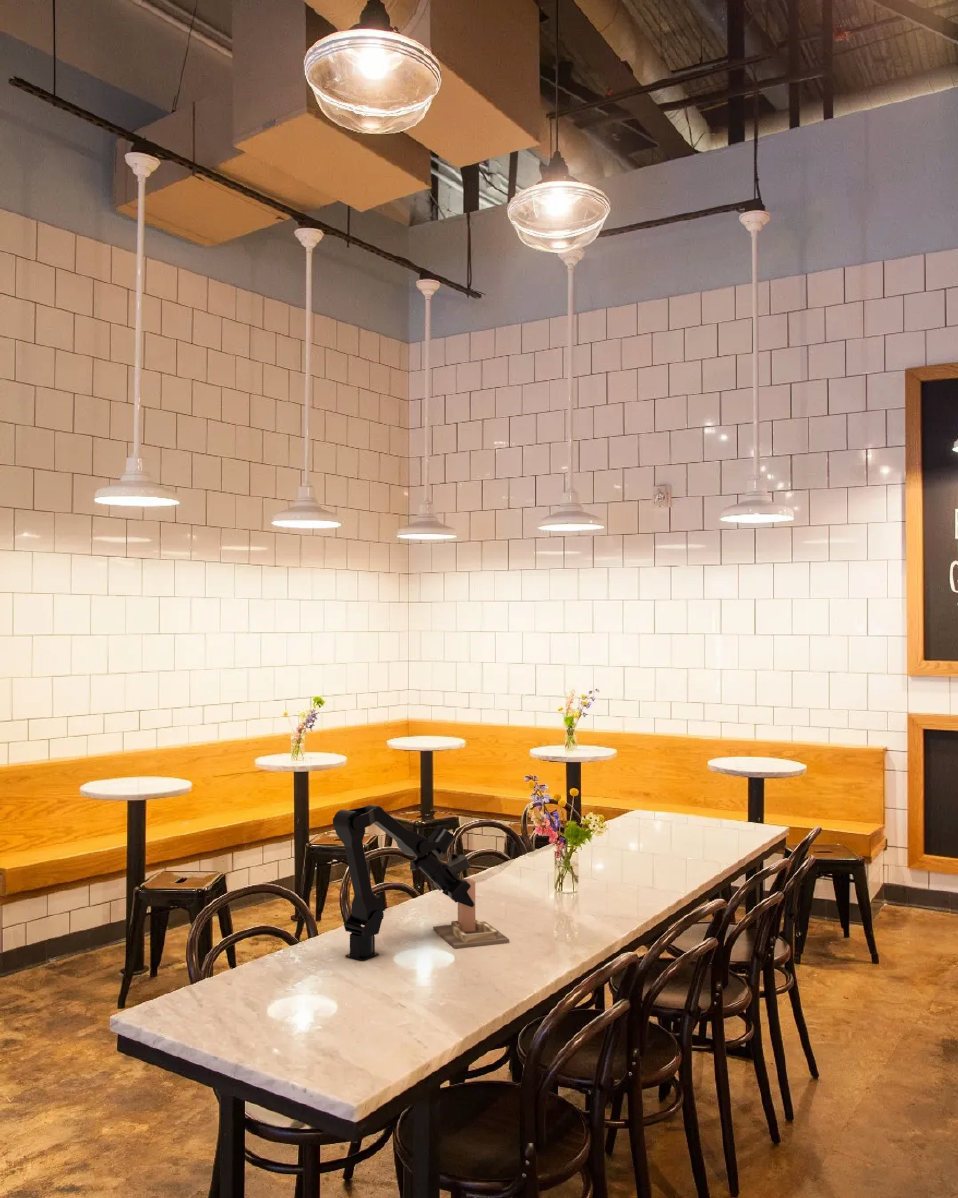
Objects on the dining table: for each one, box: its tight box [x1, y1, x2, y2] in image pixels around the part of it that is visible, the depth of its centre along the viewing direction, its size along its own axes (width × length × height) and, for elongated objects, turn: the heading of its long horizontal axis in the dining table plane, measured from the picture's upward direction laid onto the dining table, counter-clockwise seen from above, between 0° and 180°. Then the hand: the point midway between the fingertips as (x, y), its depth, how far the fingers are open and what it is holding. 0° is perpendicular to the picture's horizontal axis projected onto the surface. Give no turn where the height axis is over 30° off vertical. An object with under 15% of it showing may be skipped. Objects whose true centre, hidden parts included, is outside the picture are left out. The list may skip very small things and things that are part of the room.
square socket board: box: [432, 918, 510, 950], centre depth 286 cm, size 20×16×3 cm
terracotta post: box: [457, 877, 476, 932], centre depth 289 cm, size 4×4×14 cm
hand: (470, 904), depth 290 cm, fingers closed on terracotta post, 4 cm apart
